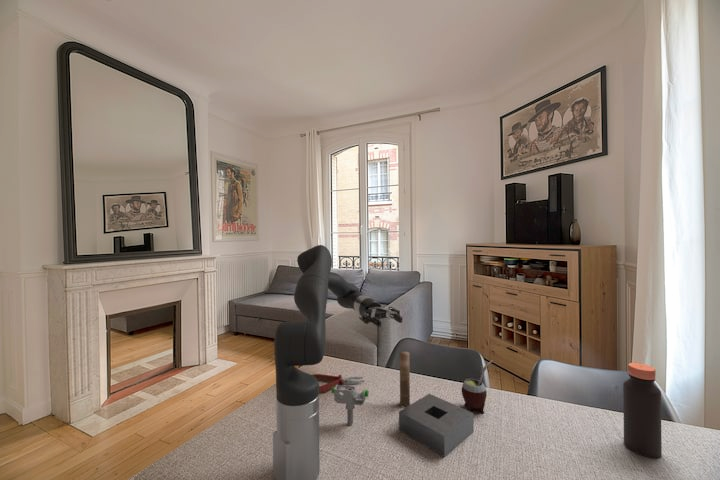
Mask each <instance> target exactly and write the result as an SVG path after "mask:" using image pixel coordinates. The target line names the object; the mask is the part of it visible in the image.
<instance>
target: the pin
mask: <svg viewBox="0 0 720 480" xmlns="http://www.w3.org/2000/svg"><path fill="white" fill-rule="evenodd" d="M410 360H411V359H410V352H409V351H401V352H399V405H400V407H402V408H406V407H407V406H409V405H411V401H410V400H411V399H410V398H411V395H410V390H411V389H410V388H411V387H410V386H411V383H410V382H411V381H410V380H411V379H410V376H411V373H410V370H411V369H410Z"/></svg>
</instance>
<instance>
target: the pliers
mask: <svg viewBox="0 0 720 480" xmlns="http://www.w3.org/2000/svg"><path fill="white" fill-rule="evenodd" d="M311 375H312V376H314V377H315V378H316V379H317V380H318V382H319V381H320V382H327V383H326V384H323V385H319V395H322V394H326V393H327V392H331V391H332V387H335V386H336V385H345V386H351V385H356V384H360V383H365V382H366V381H365V380H363V378H364V377H363V376H345V377H342V374H338V375H337V376H336V375H328V374H323V373H322V374H321V373H317V374H315V373H313V374H311Z"/></svg>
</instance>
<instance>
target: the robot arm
mask: <svg viewBox="0 0 720 480" xmlns="http://www.w3.org/2000/svg"><path fill="white" fill-rule="evenodd" d="M332 258H333V257H332V254H331V253H330V250H329V248H327V247H326V246H325V245H323V244H318V245H314V246H313V247H311V248H308V249H307V250H305V251H303V252H301V253H300V254H298V256H297V259H296V261H297V266H298V267H299V270H300V272H301V273H302V275H301V276H300V277H299V279H298V281H297V283H296V287H295V289H294V294H293V300H294V304H295V306H296V308H297V309H298V310H299V311H300V313H301V314H302V315H303V316H304V317H305V318H306V319H307V320H306V321H305V320H304V321H283V322H281V323H279V324H278V326H277V327H276V330H275V332H274V340H273V341H274V343H273V344H274V346H273V347H274V348H273V350H274V363H275V386H276V387H275V388H276V389H275V390H276V393H275V394H276V431H275V430H274V432H273V433H272V476H273V478H274V480H317V479H318V477H319V476H320V472H321V471H320V464H321V462H320V460H321V459H320V394H319V386H320V383H319V381H318V380H317V379H316V378H315V377H314V376H312V375H313V374H310V373H307V372H305V371H302V370H300V369H299V368H297V366H298V367H299V366H301V367H302V366H314V365H315V366H316V365H318V364H320V363H321V362H322V361H323V359H324V356H325V353H326V352H325V351H326V340H327V338H326V335H327V334H326V332H327V330H326V312H327V311H326V310H327V304H328V296H329V293H328V292H329V291H331V293H333V294H334V295H335V296H336V301H337V304H338V305H339V306H341V307H342V308H344V309H350V310H351V309H352V310H353V311H356V313H358V317H359V318H358V319H359V320H360V321H361V322H363V323H364V324H366V325H368V324H369V323H370V324H373V325H375V326H376V327H378V328H381V327H382V320H388V321H389V320H394V321H396V322H398V323H399V324H402V323H403V316H402V315H401V311H400V310H398V309H397V308H395V307H393V306H388V308H385V307H383V306H382V305H381V303H380V302H378V301H377V300H375V299H373V298H372V297H370V296H368V295H365V294H364V293H362V292H360V289H359V287H358V286H357V285H355V284H354V283H351V282H348V281H346V280H345V279H344V277H343V276H341V275H340V274H339V273H336V272H332V271H331V270H332V267H333V259H332Z"/></svg>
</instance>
